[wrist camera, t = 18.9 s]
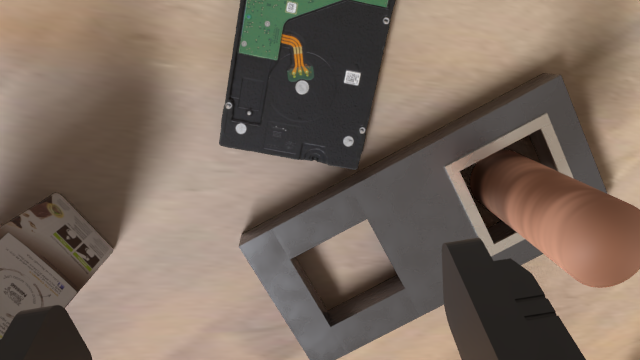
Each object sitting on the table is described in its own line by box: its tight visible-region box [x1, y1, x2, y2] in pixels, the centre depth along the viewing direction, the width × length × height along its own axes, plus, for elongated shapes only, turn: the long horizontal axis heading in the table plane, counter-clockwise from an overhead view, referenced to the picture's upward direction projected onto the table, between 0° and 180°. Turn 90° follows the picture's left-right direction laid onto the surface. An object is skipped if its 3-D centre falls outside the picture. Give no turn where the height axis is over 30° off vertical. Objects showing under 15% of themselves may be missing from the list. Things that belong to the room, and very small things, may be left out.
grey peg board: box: [239, 73, 607, 360], centre depth 40 cm, size 26×12×3 cm, turn 118°
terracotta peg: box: [470, 149, 640, 288], centre depth 34 cm, size 5×5×14 cm
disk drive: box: [219, 0, 395, 170], centre depth 36 cm, size 10×3×15 cm
